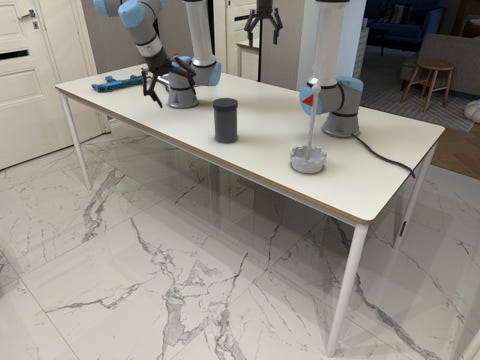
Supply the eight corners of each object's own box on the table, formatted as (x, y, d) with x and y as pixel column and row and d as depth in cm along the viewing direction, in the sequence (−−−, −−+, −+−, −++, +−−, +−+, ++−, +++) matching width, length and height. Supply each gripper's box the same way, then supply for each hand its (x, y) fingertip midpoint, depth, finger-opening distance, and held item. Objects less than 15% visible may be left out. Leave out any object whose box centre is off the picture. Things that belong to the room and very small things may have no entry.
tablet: (154, 77, 217) (153, 77, 217) (181, 71, 228) (180, 71, 228) (181, 89, 196) (181, 89, 196) (209, 82, 208) (209, 82, 207)
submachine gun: (137, 69, 223) (155, 75, 206) (138, 75, 225) (156, 81, 208) (84, 79, 204) (99, 87, 188) (85, 85, 206) (101, 94, 190)
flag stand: (312, 154, 131) (323, 76, 115) (332, 170, 121) (346, 88, 105) (282, 160, 128) (289, 80, 111) (300, 177, 117) (309, 93, 101)
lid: (239, 103, 140) (239, 98, 139) (236, 112, 132) (236, 107, 130) (215, 102, 141) (214, 97, 140) (210, 111, 133) (210, 106, 131)
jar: (238, 133, 147) (238, 99, 139) (235, 143, 140) (235, 107, 131) (217, 132, 148) (215, 98, 140) (213, 142, 140) (211, 106, 132)
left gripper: (117, 71, 109) (148, 117, 125) (189, 42, 108) (210, 92, 124) (116, 59, 113) (146, 105, 130) (185, 30, 112) (206, 81, 129)
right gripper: (283, -6, 163) (280, 41, 174) (236, -3, 154) (237, 46, 166) (292, -4, 157) (288, 44, 169) (243, -2, 148) (243, 49, 160)
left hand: (178, 99), depth 127 cm, fingers open, 13 cm apart
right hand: (263, 45), depth 167 cm, fingers open, 13 cm apart
